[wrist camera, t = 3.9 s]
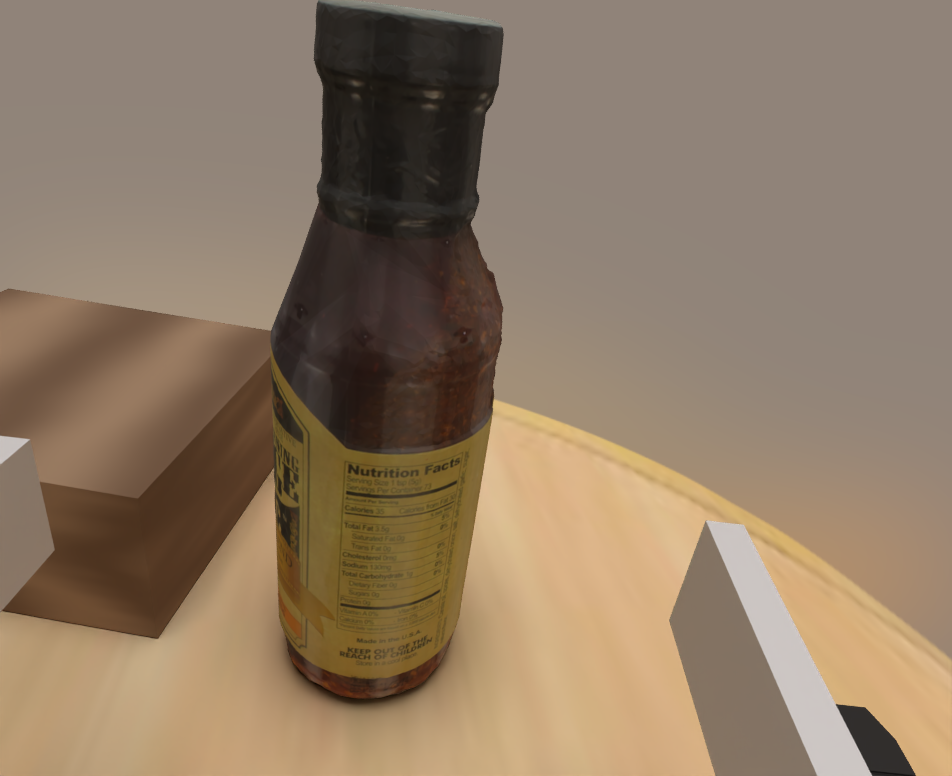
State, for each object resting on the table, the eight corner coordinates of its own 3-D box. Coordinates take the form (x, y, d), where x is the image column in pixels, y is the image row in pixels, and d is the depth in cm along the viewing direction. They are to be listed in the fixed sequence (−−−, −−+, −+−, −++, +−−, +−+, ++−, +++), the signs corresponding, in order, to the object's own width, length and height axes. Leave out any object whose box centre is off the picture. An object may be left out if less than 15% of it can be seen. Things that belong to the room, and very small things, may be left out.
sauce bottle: (310, 563, 27) (317, -4, 17) (463, 586, 27) (550, 30, 17) (247, 706, 21) (207, -29, 12) (442, 737, 21) (558, 21, 12)
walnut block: (-229, 568, 23) (-301, 423, 20) (31, 396, 35) (8, 288, 32) (157, 638, 23) (137, 498, 20) (291, 440, 34) (291, 334, 31)
